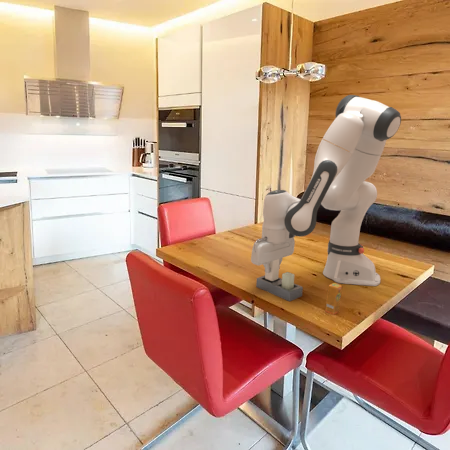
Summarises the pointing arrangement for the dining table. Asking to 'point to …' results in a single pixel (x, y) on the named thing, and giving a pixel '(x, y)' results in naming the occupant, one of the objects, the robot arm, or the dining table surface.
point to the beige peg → (288, 280)
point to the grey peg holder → (279, 288)
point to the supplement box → (333, 298)
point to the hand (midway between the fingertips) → (272, 270)
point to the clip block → (273, 270)
